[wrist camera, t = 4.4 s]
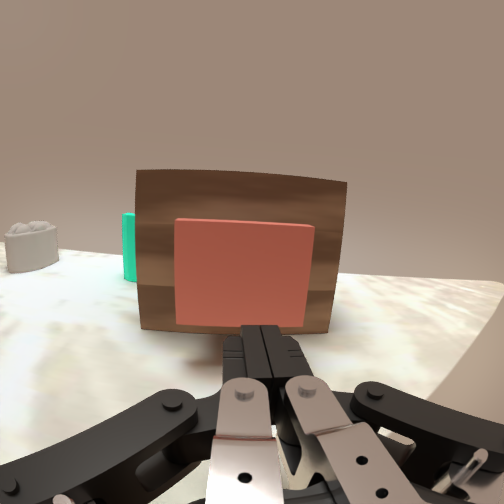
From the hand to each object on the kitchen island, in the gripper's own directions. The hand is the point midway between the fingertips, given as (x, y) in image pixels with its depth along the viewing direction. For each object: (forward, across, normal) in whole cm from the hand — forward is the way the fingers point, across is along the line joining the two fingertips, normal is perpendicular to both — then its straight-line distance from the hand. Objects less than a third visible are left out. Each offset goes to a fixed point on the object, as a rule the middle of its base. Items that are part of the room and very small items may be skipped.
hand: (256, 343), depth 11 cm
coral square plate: (+14, 0, +4) cm, 14 cm away
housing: (+21, 0, +8) cm, 22 cm away
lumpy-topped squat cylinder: (+34, +42, +8) cm, 55 cm away
